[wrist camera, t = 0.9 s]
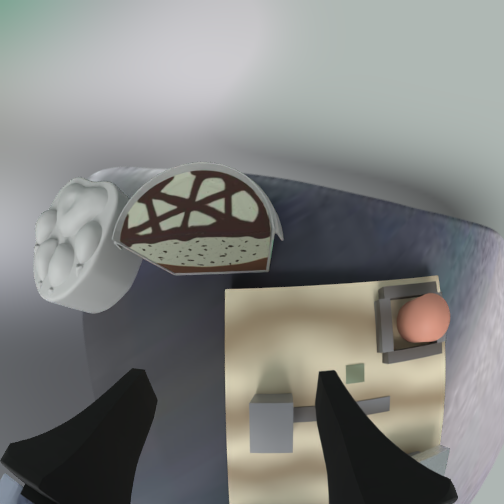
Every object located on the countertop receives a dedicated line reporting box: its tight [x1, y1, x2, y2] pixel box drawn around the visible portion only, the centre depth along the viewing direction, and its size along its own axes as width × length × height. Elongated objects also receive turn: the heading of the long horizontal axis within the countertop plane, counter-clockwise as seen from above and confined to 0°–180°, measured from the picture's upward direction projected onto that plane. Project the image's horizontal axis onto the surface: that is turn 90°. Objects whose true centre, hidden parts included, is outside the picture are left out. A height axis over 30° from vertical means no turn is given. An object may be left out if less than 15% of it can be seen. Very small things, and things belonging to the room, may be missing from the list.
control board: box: [225, 276, 446, 504], centre depth 19 cm, size 22×20×4 cm
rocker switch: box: [411, 445, 450, 476], centre depth 13 cm, size 4×6×2 cm, turn 91°
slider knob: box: [249, 393, 293, 453], centre depth 18 cm, size 4×3×4 cm
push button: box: [397, 293, 450, 343], centre depth 18 cm, size 4×4×3 cm
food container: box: [112, 162, 284, 275], centre depth 23 cm, size 12×6×10 cm, turn 91°
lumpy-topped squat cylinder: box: [33, 177, 143, 313], centre depth 25 cm, size 10×13×9 cm
